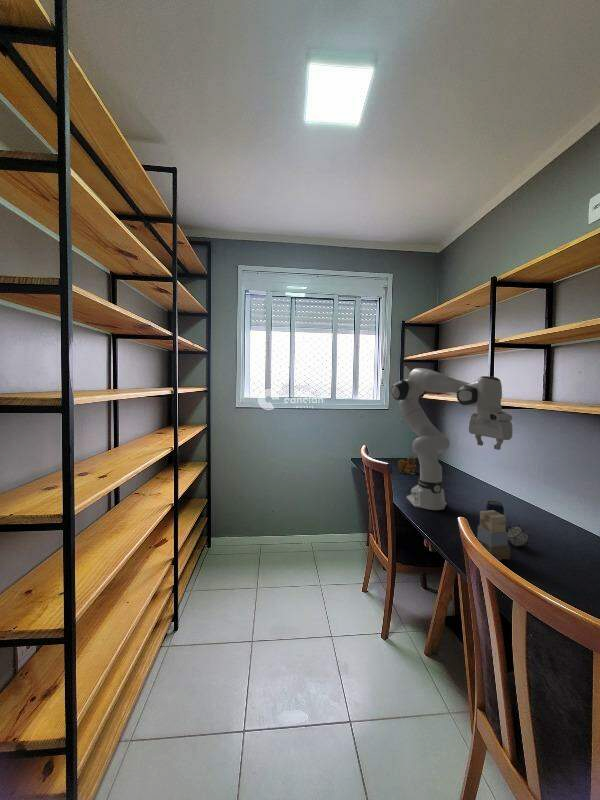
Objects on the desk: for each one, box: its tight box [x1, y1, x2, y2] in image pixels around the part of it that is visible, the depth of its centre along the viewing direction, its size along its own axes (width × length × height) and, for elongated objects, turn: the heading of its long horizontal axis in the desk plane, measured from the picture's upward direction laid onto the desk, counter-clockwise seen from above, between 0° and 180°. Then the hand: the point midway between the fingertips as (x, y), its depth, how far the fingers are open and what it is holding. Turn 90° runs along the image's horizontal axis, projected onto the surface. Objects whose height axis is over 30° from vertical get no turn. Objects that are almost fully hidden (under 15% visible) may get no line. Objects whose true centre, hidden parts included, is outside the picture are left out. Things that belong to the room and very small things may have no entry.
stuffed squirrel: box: [397, 455, 418, 474], centre depth 235 cm, size 10×14×13 cm
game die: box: [506, 524, 532, 549], centre depth 127 cm, size 9×8×10 cm
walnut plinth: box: [476, 537, 511, 561], centre depth 120 cm, size 8×8×5 cm
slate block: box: [477, 525, 509, 547], centre depth 120 cm, size 7×7×5 cm
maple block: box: [479, 510, 507, 533], centre depth 120 cm, size 6×6×6 cm
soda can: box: [485, 500, 505, 516], centre depth 142 cm, size 7×7×12 cm
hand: (488, 447), depth 132 cm, fingers open, 8 cm apart
